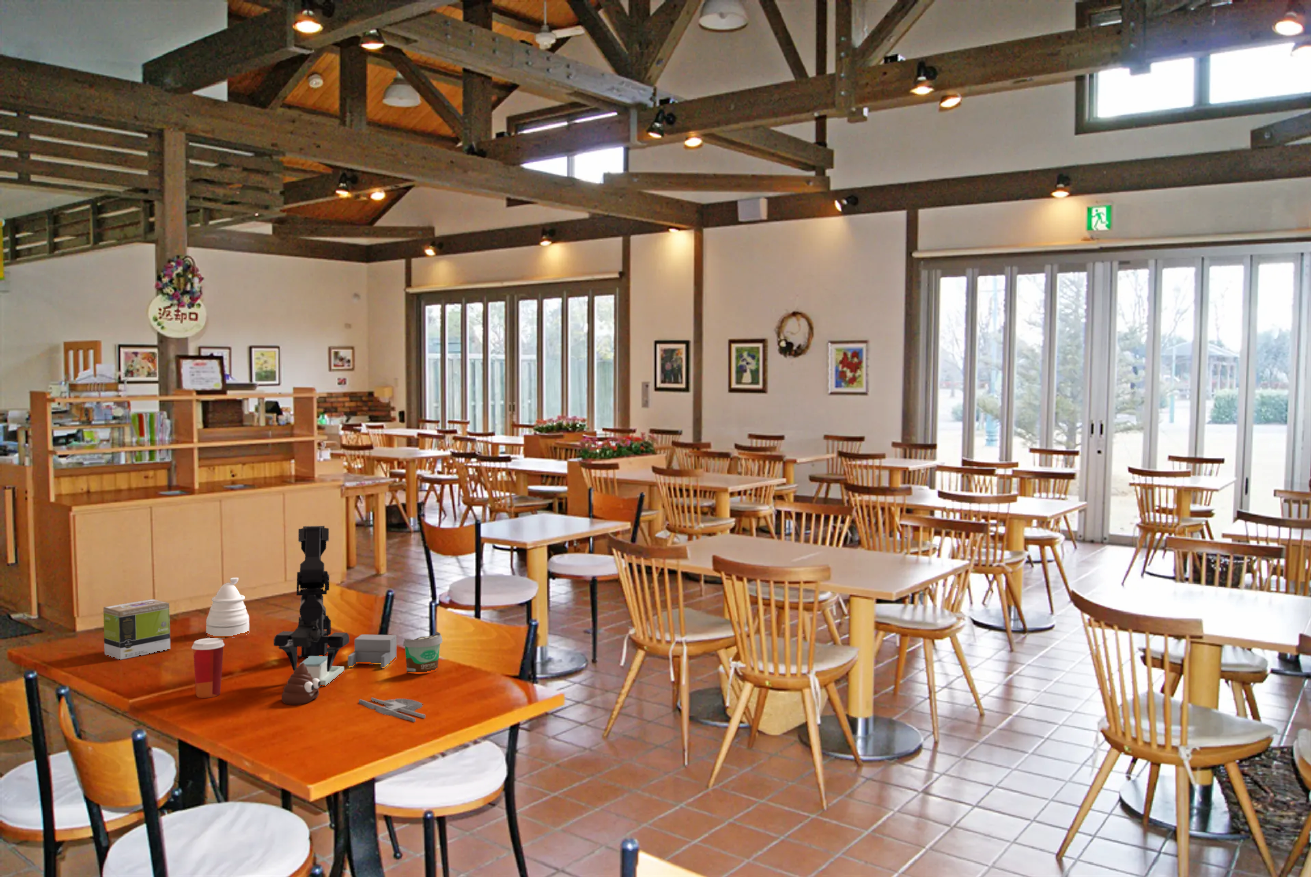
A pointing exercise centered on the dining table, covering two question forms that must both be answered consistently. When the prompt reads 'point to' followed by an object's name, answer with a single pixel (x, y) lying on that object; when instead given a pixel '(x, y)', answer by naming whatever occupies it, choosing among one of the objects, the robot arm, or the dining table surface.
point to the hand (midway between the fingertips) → (311, 670)
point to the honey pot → (227, 612)
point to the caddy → (317, 666)
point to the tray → (332, 674)
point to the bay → (374, 649)
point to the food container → (422, 653)
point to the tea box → (136, 628)
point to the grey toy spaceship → (395, 707)
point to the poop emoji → (300, 687)
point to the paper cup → (208, 666)
